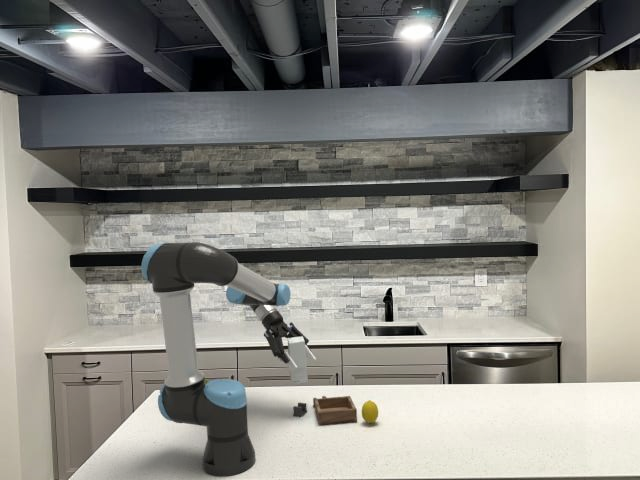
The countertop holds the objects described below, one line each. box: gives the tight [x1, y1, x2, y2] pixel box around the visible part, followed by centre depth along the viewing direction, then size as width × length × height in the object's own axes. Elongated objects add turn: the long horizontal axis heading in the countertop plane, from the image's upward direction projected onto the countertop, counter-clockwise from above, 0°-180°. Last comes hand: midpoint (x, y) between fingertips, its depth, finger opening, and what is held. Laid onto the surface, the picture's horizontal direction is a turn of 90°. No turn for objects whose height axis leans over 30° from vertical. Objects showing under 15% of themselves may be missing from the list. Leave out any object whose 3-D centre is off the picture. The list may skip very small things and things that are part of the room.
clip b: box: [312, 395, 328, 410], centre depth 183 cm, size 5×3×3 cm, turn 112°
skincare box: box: [287, 336, 309, 385], centre depth 175 cm, size 8×6×15 cm
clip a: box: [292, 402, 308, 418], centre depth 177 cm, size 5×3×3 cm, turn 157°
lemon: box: [361, 399, 379, 425], centre depth 166 cm, size 6×6×8 cm
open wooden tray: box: [314, 395, 358, 427], centre depth 173 cm, size 13×13×4 cm
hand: (304, 365), depth 173 cm, fingers closed on skincare box, 9 cm apart
